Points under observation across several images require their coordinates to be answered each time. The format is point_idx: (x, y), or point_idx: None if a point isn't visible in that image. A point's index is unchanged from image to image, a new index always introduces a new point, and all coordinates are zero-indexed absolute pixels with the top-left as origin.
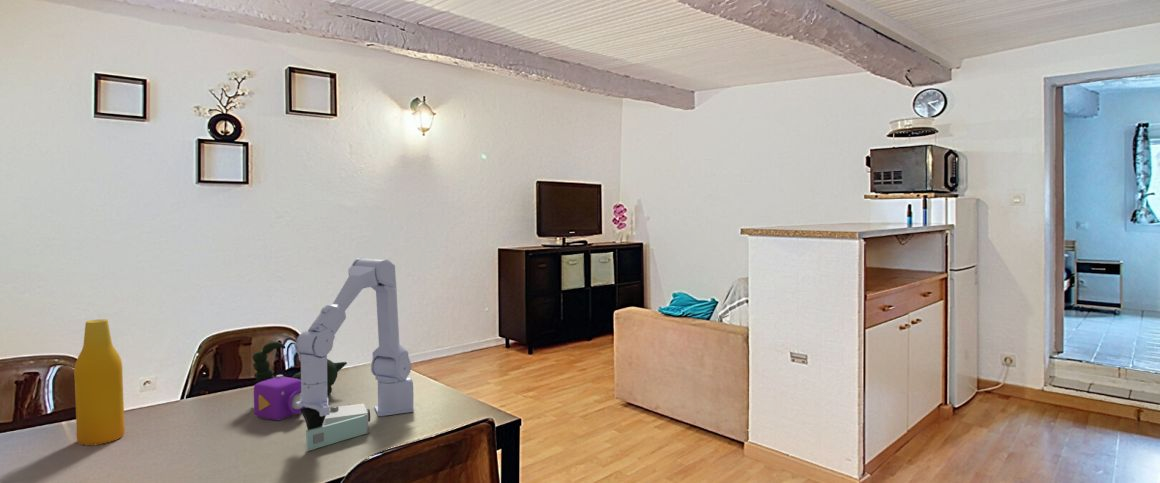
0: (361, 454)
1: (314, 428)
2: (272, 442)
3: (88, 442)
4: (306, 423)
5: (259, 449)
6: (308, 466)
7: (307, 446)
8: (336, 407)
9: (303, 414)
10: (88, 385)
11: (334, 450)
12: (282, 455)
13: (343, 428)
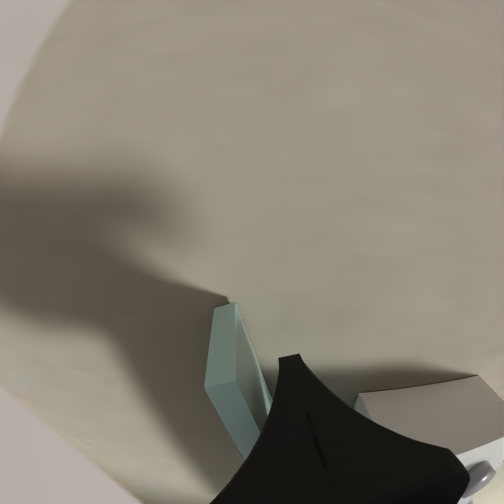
0: (98, 460)
1: (255, 432)
2: (460, 139)
3: None
4: (333, 410)
5: (394, 55)
6: (20, 279)
7: (218, 318)
8: (467, 493)
9: (341, 482)
10: None
11: (172, 411)
12: (226, 156)
13: None
